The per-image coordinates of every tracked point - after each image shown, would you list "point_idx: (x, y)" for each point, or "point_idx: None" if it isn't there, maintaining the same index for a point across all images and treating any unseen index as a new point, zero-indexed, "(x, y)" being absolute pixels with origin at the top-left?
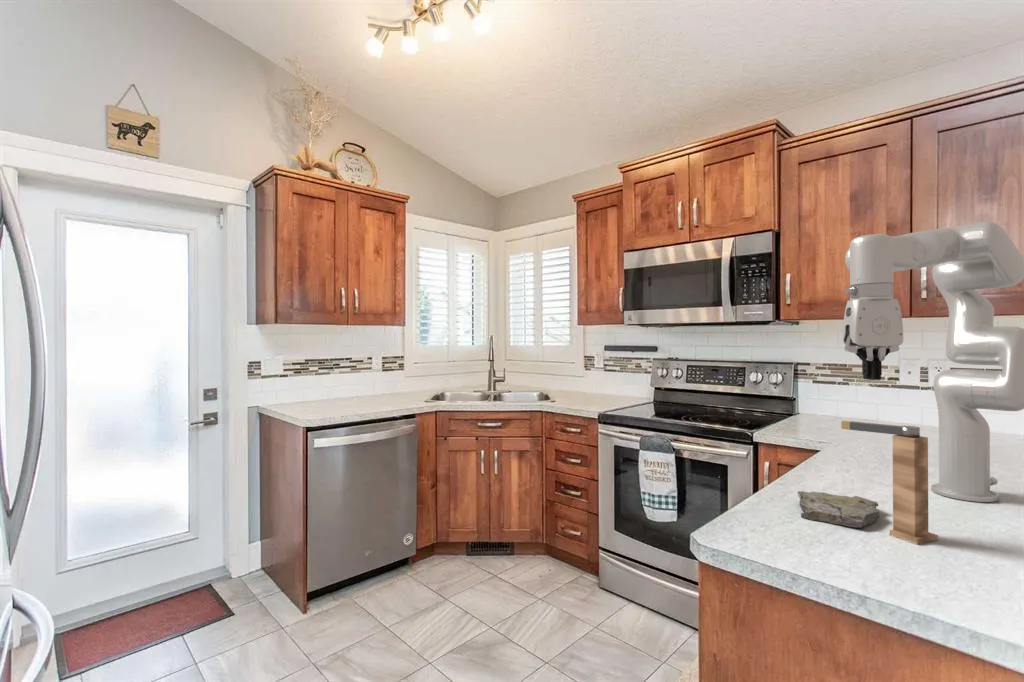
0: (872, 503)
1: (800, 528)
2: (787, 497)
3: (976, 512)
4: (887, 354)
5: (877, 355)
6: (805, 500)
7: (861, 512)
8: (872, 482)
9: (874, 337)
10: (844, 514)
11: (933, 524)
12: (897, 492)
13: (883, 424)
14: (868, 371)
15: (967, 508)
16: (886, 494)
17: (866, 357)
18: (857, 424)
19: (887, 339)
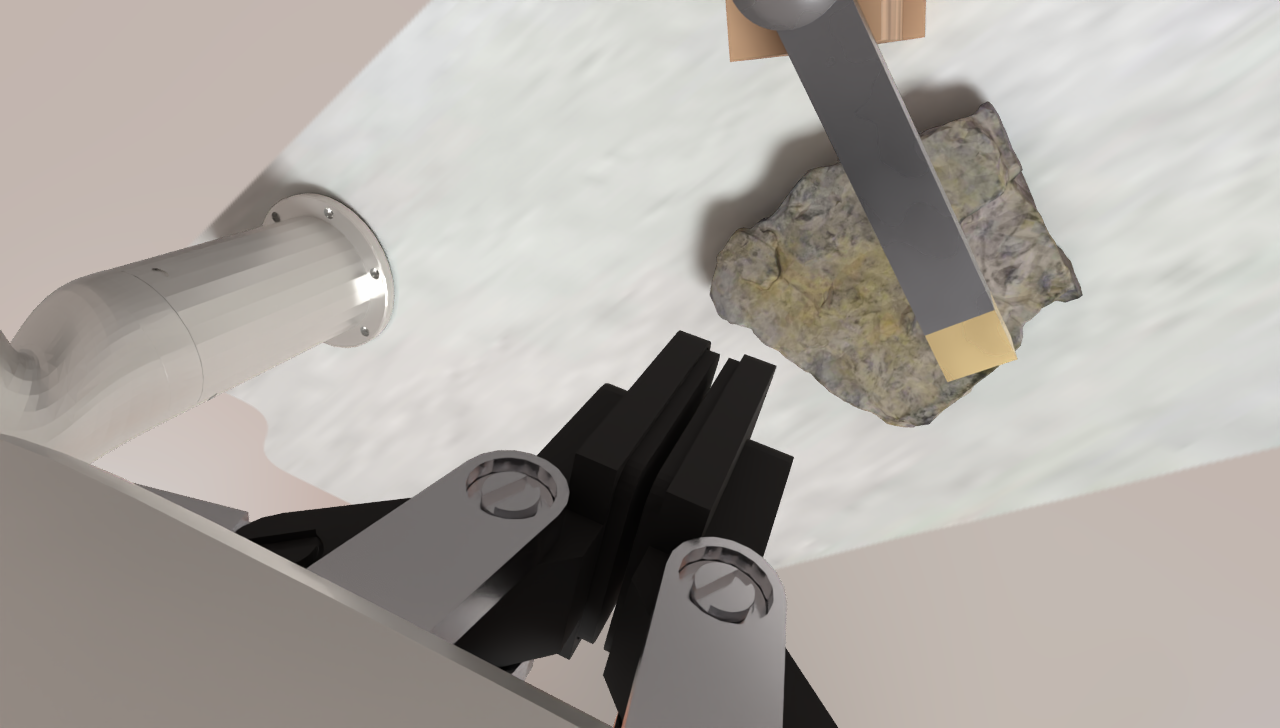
0: (752, 241)
1: (1224, 199)
2: (889, 465)
3: (425, 142)
4: (335, 509)
5: (502, 590)
6: None
7: None
8: (478, 448)
9: None
10: (1006, 172)
11: (654, 89)
12: (897, 15)
13: (844, 142)
14: (768, 472)
15: (419, 178)
16: (534, 357)
17: (777, 643)
18: (972, 259)
19: (65, 720)
